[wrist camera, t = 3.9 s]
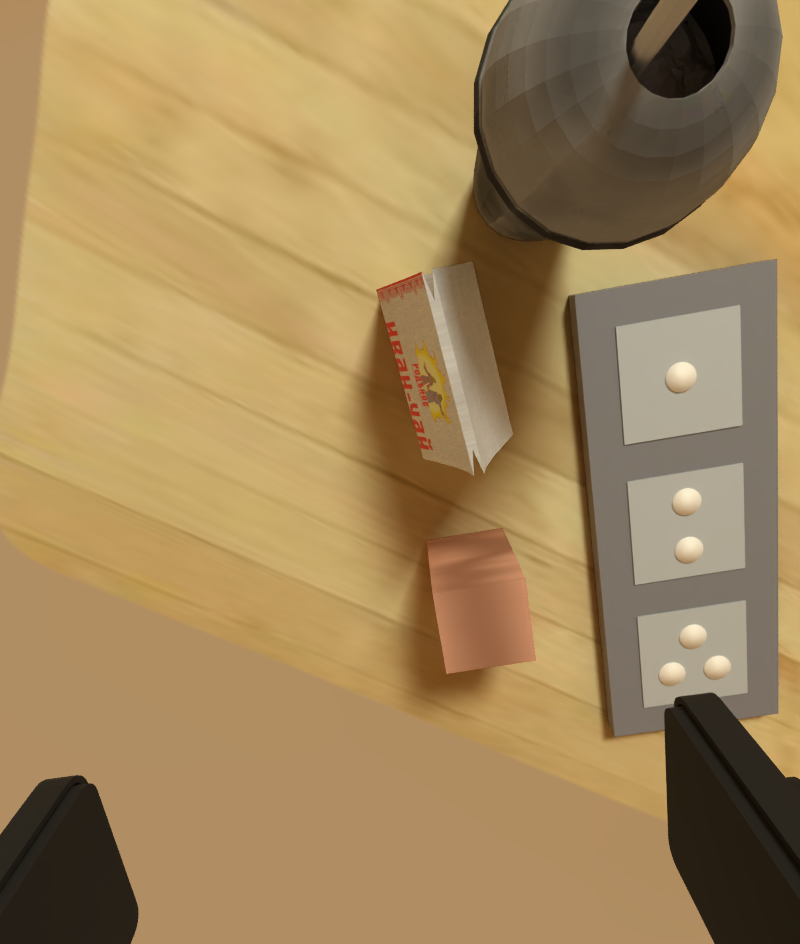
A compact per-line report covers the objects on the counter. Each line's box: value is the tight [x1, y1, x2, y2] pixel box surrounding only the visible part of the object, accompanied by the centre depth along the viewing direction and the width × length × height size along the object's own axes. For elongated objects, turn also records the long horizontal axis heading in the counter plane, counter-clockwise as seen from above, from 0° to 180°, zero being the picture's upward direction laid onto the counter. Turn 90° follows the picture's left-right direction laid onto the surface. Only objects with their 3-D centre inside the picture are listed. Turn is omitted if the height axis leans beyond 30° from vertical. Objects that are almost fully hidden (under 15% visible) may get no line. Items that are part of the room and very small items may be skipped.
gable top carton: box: [377, 261, 513, 476], centre depth 24 cm, size 4×7×10 cm, turn 16°
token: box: [427, 528, 536, 674], centre depth 29 cm, size 4×4×6 cm
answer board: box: [569, 259, 778, 737], centre depth 30 cm, size 9×24×1 cm, turn 10°
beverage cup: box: [474, 0, 783, 250], centre depth 17 cm, size 7×7×20 cm
